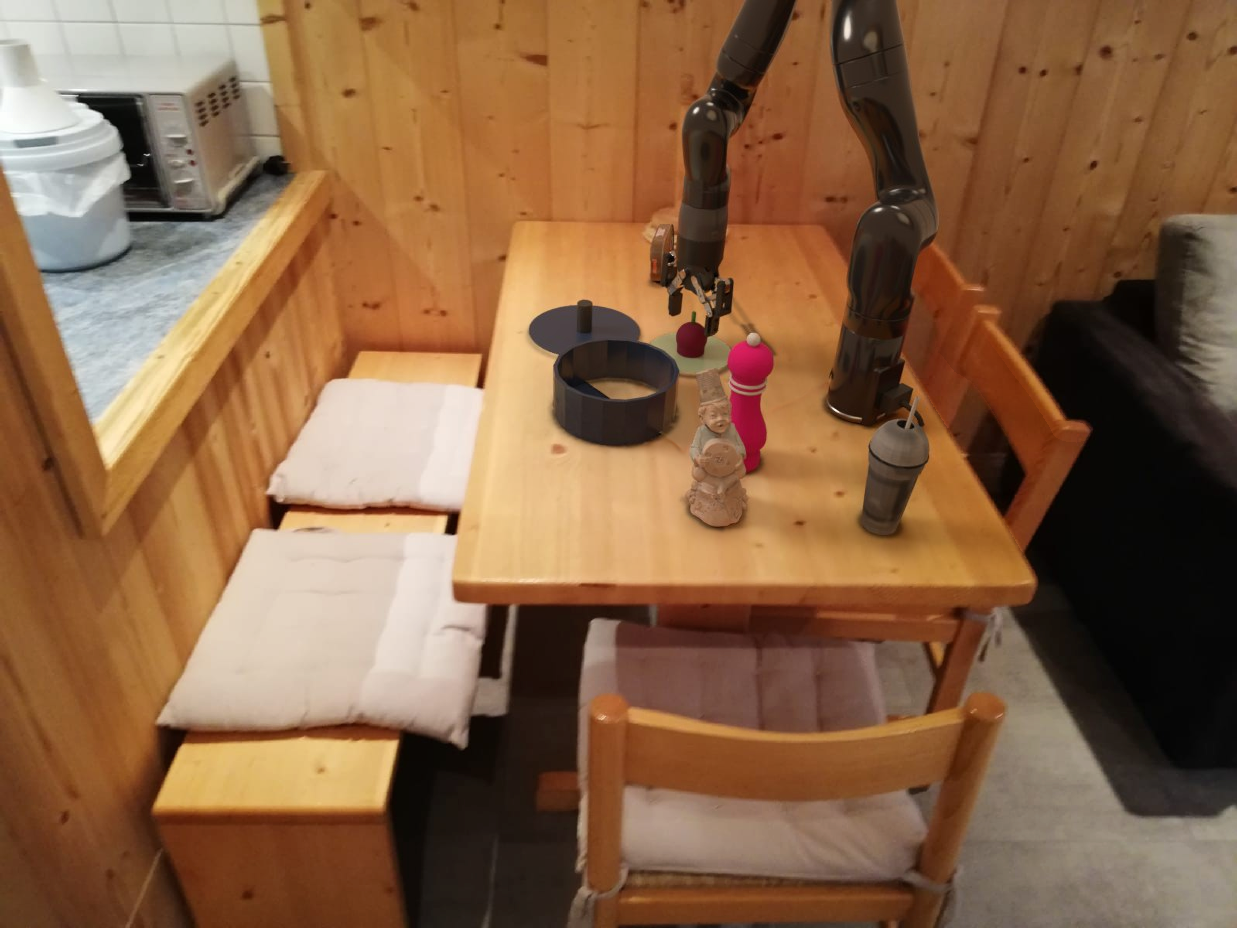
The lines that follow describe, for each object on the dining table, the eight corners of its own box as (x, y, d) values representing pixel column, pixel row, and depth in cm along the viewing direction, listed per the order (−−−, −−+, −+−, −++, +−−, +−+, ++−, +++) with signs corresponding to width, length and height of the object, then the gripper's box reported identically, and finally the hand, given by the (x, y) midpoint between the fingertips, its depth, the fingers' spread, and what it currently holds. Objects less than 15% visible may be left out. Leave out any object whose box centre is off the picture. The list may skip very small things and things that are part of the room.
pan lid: (662, 341, 155) (664, 309, 152) (572, 373, 145) (573, 340, 142) (594, 300, 167) (595, 270, 164) (507, 328, 157) (506, 296, 154)
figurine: (679, 488, 122) (691, 357, 110) (741, 487, 123) (759, 357, 111) (687, 530, 115) (702, 396, 103) (753, 529, 116) (775, 395, 104)
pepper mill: (721, 478, 124) (738, 349, 112) (703, 449, 130) (718, 323, 118) (770, 471, 126) (792, 344, 114) (750, 442, 131) (769, 318, 120)
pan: (700, 418, 136) (705, 375, 132) (603, 460, 126) (605, 415, 122) (623, 368, 147) (625, 327, 143) (529, 404, 138) (528, 360, 133)
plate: (749, 360, 151) (750, 356, 151) (687, 386, 144) (687, 381, 143) (692, 328, 160) (692, 324, 159) (631, 350, 152) (631, 346, 152)
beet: (712, 353, 151) (716, 313, 147) (689, 362, 148) (693, 321, 144) (691, 341, 154) (695, 301, 150) (668, 349, 151) (671, 309, 147)
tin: (662, 289, 172) (665, 247, 167) (646, 287, 173) (648, 245, 168) (674, 258, 184) (677, 218, 179) (659, 256, 185) (661, 216, 180)
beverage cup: (899, 506, 121) (935, 376, 109) (915, 542, 115) (955, 409, 103) (844, 505, 120) (875, 375, 109) (858, 542, 114) (892, 408, 103)
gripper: (752, 240, 137) (738, 336, 146) (688, 210, 145) (679, 302, 155) (716, 251, 133) (704, 349, 142) (653, 219, 141) (646, 313, 151)
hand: (691, 324), depth 149 cm, fingers open, 8 cm apart
